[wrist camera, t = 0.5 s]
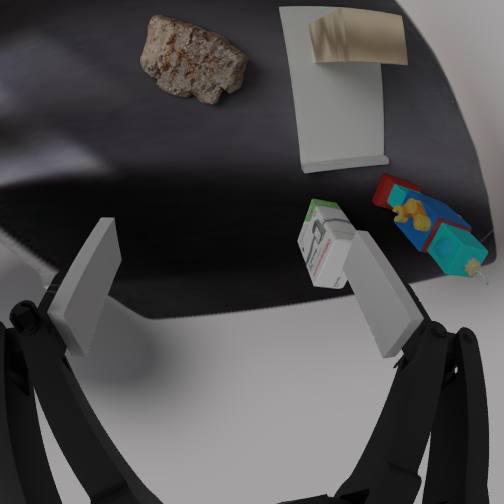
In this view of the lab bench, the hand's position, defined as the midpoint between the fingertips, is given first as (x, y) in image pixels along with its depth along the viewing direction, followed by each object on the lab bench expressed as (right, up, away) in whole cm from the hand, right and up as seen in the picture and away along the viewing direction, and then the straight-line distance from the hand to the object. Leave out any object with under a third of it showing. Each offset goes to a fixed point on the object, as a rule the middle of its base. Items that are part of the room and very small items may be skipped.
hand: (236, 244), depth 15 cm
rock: (-8, +25, +15) cm, 30 cm away
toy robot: (+26, +10, +29) cm, 40 cm away
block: (+12, +28, +14) cm, 34 cm away
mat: (+13, +23, +18) cm, 32 cm away
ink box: (+12, +5, +32) cm, 34 cm away
